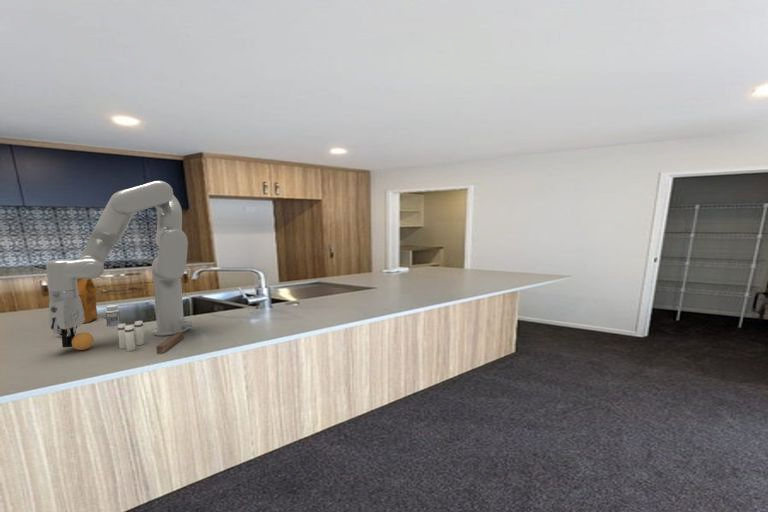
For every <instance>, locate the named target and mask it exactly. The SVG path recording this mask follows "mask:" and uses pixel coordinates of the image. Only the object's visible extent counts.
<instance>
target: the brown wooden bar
mask: <svg viewBox="0 0 768 512" xmlns="http://www.w3.org/2000/svg"><path fill="white" fill-rule="evenodd" d="M182 340H184V332H177V333H176V334H173V335H170V337H168V338H167V339H165V340H163V341H162V342H160V343H159V344H158V345H156V353H157V354H164V353H166V352H167V351H169V350H170V349H171V348H172V347H174V346H175V345H176V344H178V343H179V342H181V341H182Z"/></svg>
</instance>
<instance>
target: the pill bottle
mask: <svg viewBox="0 0 768 512" xmlns="http://www.w3.org/2000/svg"><path fill="white" fill-rule="evenodd" d="M118 308H119V306H118V304H111V305H107V306H106V308H105V309H106V311H105V317H106V325H108V326H107V327H114V326H113V325H115V326H118V325H117V324H121V317H120V315H121V314H120V309H118Z"/></svg>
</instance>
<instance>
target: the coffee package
mask: <svg viewBox="0 0 768 512" xmlns="http://www.w3.org/2000/svg"><path fill="white" fill-rule="evenodd" d="M77 285H78V295H79V297H80V299H81V302H82V305H83V310H84V317H85V321H84V322H83V323H82V324H87V323H91V321H93V320H95V319H97V318H98V317H99V316H98V309H97V293H96V292H97V291H96V287H95V285H94V282H93V279H77Z"/></svg>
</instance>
